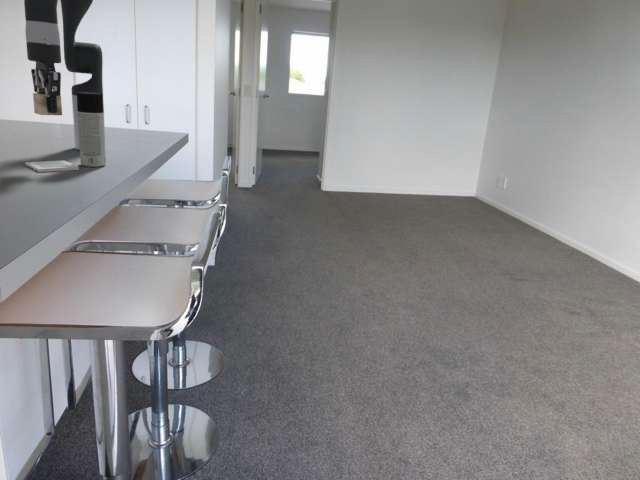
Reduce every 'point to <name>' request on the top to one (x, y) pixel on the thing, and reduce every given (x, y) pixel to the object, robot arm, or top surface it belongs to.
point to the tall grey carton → (91, 129)
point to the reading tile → (52, 166)
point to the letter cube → (45, 104)
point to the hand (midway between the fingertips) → (48, 111)
